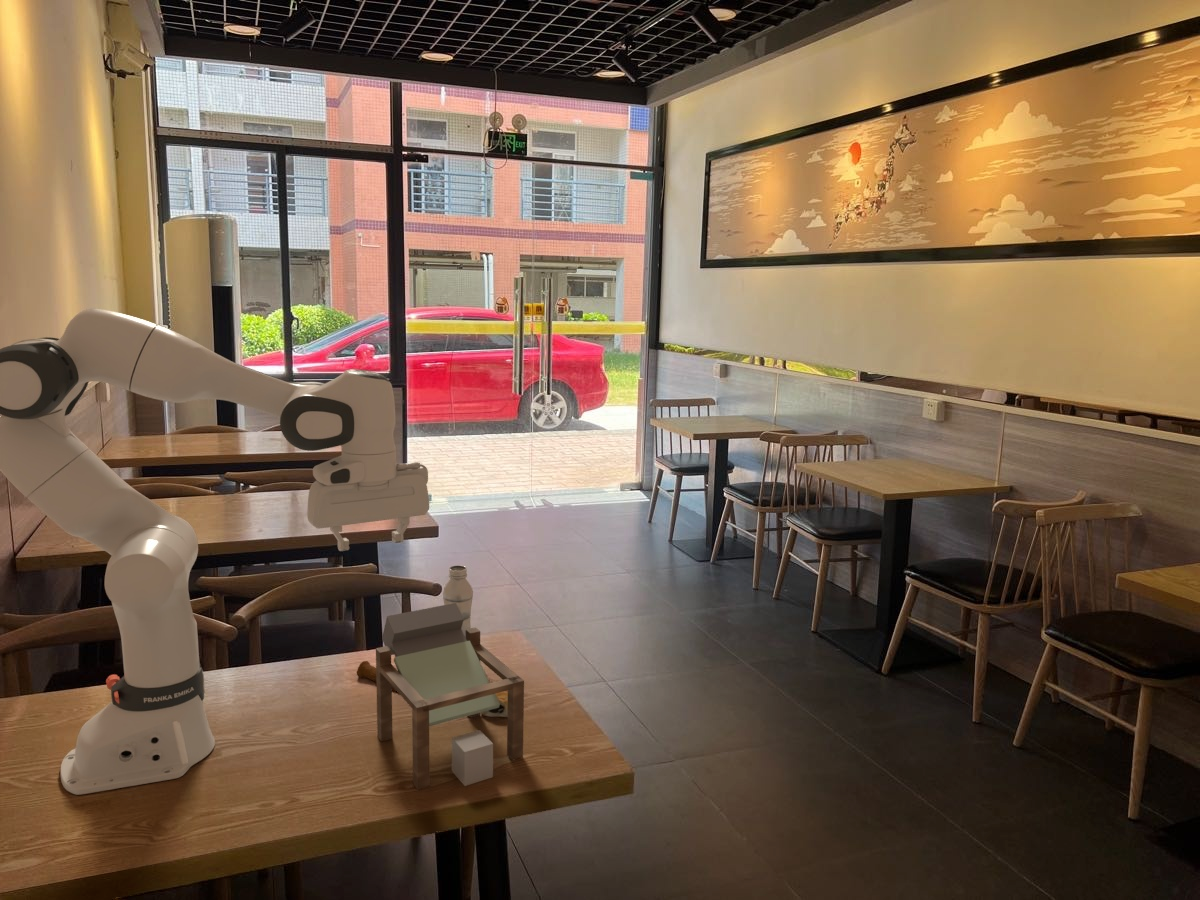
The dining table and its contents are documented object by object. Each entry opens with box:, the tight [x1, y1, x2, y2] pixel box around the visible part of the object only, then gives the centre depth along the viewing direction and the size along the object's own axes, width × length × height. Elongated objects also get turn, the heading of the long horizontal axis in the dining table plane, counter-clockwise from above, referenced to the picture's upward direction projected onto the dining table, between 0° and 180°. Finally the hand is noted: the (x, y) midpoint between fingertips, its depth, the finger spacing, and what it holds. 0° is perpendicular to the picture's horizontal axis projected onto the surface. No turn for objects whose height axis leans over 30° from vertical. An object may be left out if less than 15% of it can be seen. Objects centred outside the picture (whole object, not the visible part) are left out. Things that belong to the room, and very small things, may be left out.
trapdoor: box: [381, 603, 500, 727], centre depth 150 cm, size 14×21×6 cm
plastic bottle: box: [442, 564, 474, 638], centre depth 182 cm, size 6×7×20 cm
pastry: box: [480, 690, 508, 718], centre depth 164 cm, size 9×7×4 cm
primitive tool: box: [356, 660, 396, 692], centre depth 170 cm, size 19×6×4 cm, turn 62°
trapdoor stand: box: [375, 626, 525, 791], centre depth 148 cm, size 19×19×16 cm
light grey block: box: [451, 729, 494, 787], centre depth 141 cm, size 5×5×6 cm
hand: (371, 545), depth 148 cm, fingers open, 8 cm apart
